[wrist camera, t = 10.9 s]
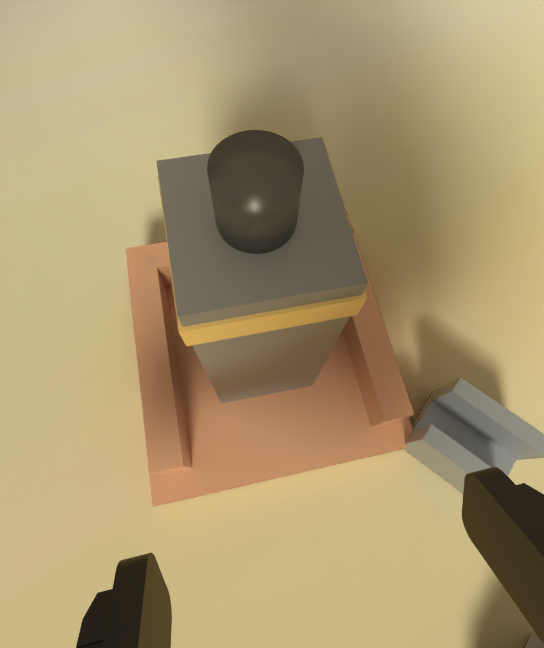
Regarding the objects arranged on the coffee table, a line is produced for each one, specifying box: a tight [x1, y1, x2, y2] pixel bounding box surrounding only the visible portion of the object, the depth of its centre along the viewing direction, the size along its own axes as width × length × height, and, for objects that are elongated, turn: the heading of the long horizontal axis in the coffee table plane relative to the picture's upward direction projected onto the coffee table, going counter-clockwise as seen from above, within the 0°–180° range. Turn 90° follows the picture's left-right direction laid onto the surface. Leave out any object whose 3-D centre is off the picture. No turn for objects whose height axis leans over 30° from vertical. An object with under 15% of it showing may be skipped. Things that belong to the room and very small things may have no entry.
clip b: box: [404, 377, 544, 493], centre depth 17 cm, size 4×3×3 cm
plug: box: [157, 130, 368, 403], centre depth 13 cm, size 4×4×12 cm
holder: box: [126, 211, 414, 506], centre depth 18 cm, size 11×11×3 cm
